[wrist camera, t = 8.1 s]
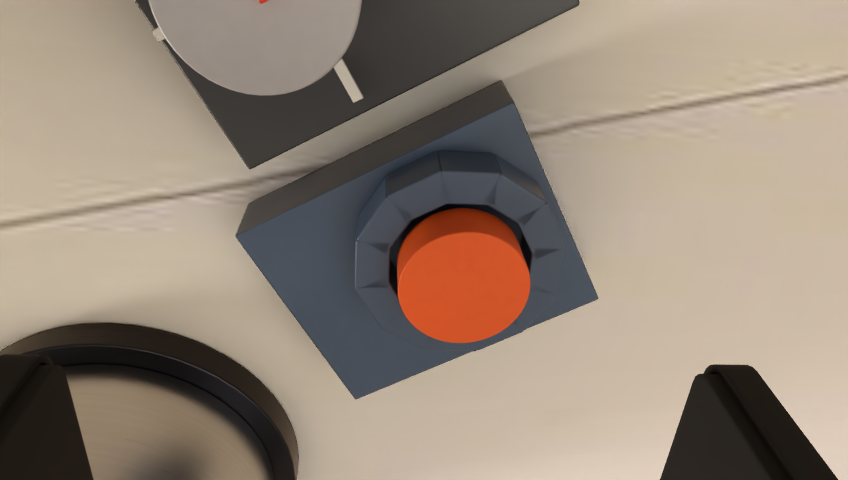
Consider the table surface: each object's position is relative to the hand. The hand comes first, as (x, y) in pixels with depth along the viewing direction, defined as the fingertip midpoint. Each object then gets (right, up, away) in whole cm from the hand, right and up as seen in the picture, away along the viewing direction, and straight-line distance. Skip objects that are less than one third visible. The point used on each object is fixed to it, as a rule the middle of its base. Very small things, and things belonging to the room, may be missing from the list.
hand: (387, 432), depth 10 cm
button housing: (0, +3, +17) cm, 17 cm away
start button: (+2, +2, +13) cm, 13 cm away
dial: (-4, +11, +9) cm, 15 cm away
